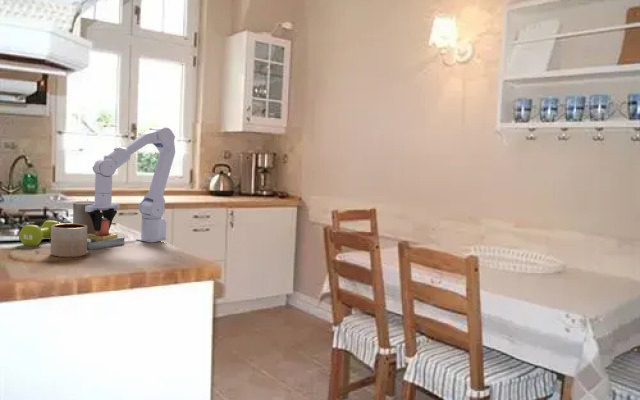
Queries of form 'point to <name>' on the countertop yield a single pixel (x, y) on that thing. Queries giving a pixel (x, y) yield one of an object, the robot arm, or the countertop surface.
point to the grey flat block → (103, 240)
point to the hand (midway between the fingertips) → (102, 229)
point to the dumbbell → (36, 233)
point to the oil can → (104, 227)
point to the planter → (68, 240)
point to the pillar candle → (83, 215)
